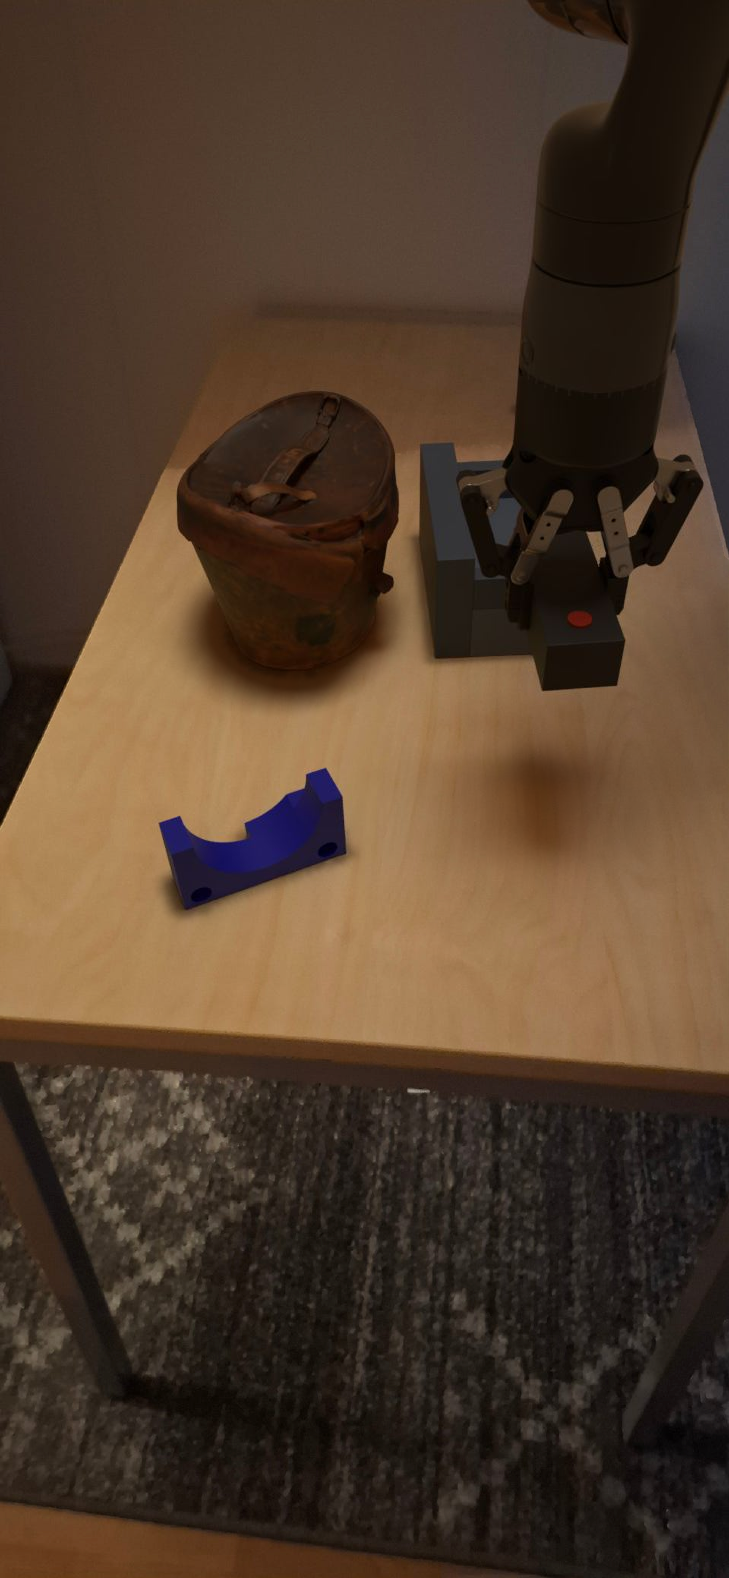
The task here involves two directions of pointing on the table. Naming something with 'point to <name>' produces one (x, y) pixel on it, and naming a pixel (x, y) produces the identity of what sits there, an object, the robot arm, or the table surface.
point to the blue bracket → (259, 844)
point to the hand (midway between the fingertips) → (561, 618)
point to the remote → (573, 618)
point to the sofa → (462, 563)
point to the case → (295, 526)
